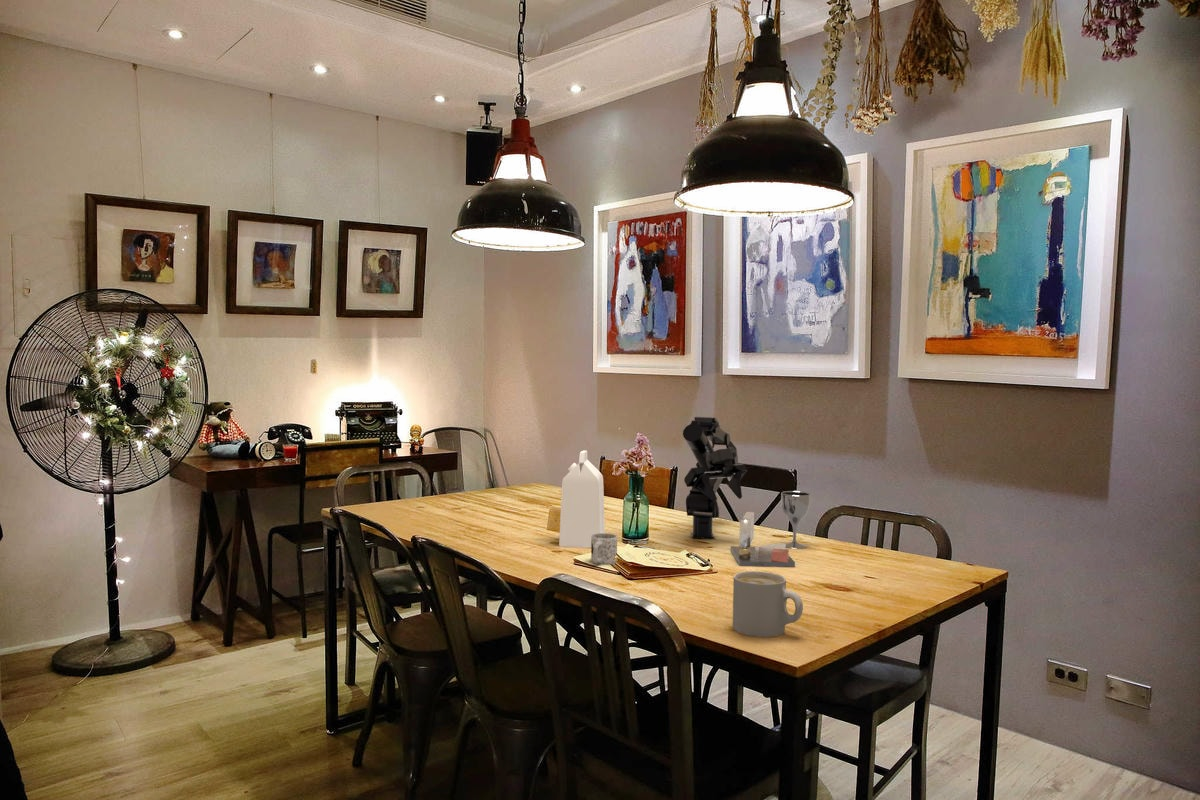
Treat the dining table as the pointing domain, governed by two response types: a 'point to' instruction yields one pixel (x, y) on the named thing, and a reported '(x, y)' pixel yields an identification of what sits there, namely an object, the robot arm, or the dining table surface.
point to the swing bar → (746, 530)
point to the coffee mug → (762, 604)
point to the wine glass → (795, 512)
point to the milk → (581, 504)
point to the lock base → (763, 555)
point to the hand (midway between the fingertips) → (728, 499)
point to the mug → (603, 548)
